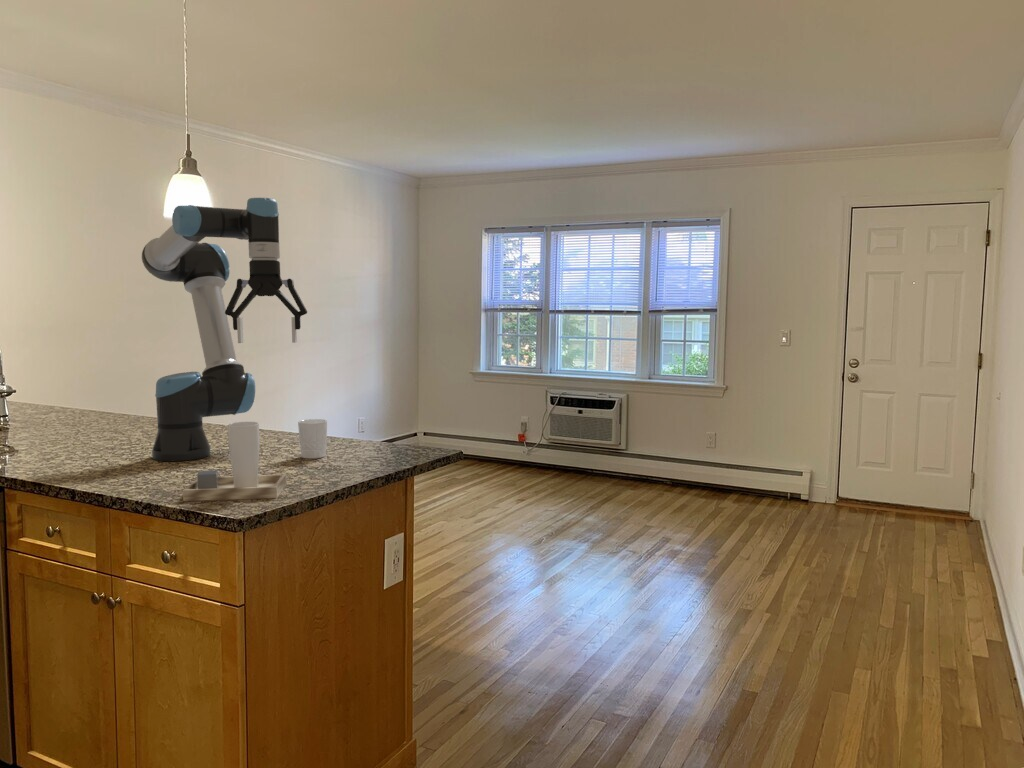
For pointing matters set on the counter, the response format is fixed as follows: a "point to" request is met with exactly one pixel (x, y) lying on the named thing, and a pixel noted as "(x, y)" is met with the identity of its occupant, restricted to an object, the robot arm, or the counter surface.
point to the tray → (237, 489)
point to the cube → (208, 479)
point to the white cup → (313, 438)
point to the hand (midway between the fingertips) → (267, 342)
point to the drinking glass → (244, 453)
